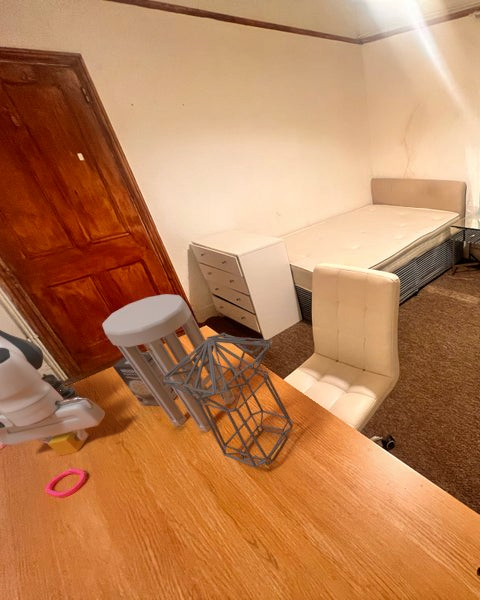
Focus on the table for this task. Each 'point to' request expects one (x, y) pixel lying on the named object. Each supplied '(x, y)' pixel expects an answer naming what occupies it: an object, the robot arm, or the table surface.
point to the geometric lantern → (203, 353)
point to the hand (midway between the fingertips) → (71, 441)
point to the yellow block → (66, 443)
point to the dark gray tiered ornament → (60, 387)
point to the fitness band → (70, 491)
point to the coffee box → (139, 380)
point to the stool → (163, 351)
